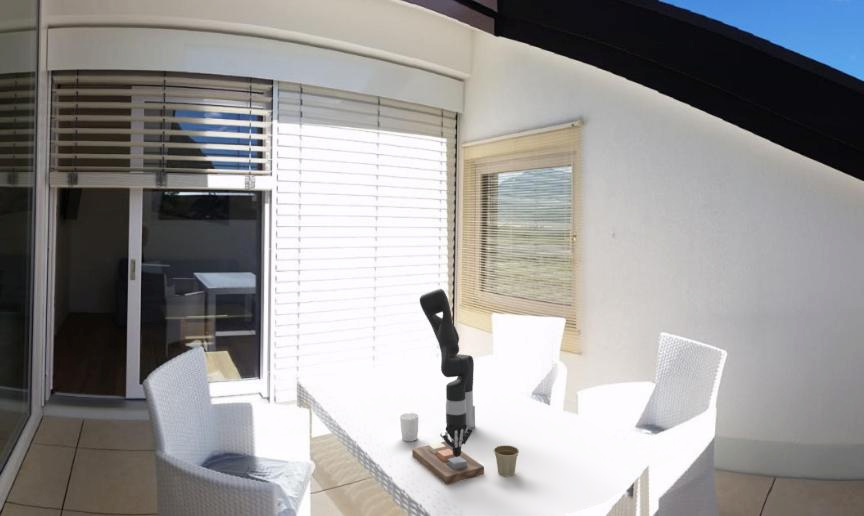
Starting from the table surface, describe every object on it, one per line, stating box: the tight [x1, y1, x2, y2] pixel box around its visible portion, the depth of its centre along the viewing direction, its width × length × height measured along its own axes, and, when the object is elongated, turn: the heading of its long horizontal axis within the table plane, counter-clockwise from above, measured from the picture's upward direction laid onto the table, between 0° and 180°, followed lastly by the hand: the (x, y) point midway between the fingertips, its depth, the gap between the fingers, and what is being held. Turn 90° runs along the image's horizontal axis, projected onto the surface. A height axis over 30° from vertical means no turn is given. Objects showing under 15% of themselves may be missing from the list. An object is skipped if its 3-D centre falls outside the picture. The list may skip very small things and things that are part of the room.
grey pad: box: [448, 456, 467, 470], centre depth 210 cm, size 5×5×3 cm
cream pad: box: [427, 441, 446, 454], centre depth 224 cm, size 5×5×3 cm
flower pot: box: [493, 444, 520, 477], centre depth 209 cm, size 9×9×9 cm
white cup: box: [399, 412, 419, 442], centre depth 244 cm, size 8×8×10 cm
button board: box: [411, 441, 485, 486], centre depth 217 cm, size 16×28×3 cm, turn 28°
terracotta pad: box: [438, 449, 455, 462], centre depth 217 cm, size 5×5×3 cm
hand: (456, 455), depth 209 cm, fingers closed
